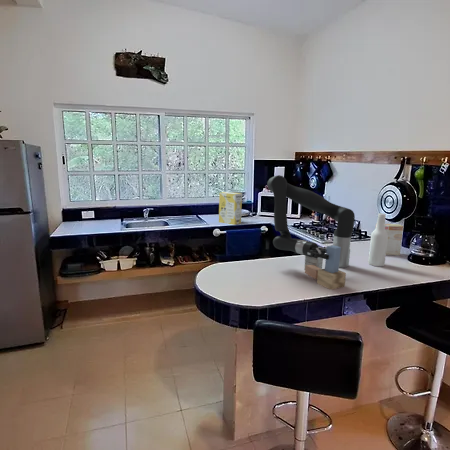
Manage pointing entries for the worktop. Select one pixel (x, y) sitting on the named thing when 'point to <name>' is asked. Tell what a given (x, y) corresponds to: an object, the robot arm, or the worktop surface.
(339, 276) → the oak base block
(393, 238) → the coffeecake box
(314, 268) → the terracotta block
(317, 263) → the grey upright block
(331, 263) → the blue post block
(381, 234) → the alcohol
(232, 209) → the pasta box
